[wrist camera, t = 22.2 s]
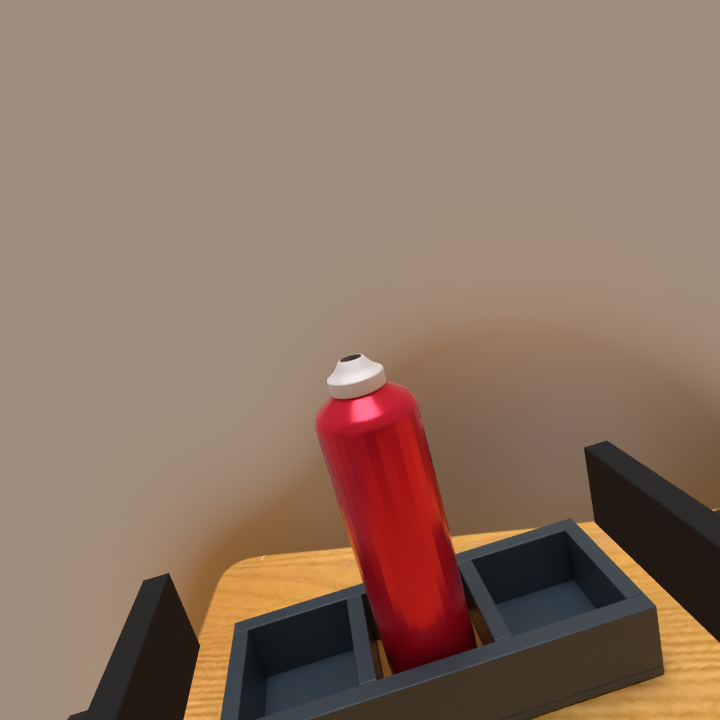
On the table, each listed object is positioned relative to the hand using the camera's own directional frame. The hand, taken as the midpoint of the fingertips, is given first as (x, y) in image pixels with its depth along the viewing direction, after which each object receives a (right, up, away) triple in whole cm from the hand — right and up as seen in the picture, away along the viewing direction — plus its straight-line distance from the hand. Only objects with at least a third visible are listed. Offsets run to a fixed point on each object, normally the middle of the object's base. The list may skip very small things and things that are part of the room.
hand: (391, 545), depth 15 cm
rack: (+4, -14, +16) cm, 21 cm away
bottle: (+4, -13, +15) cm, 20 cm away
